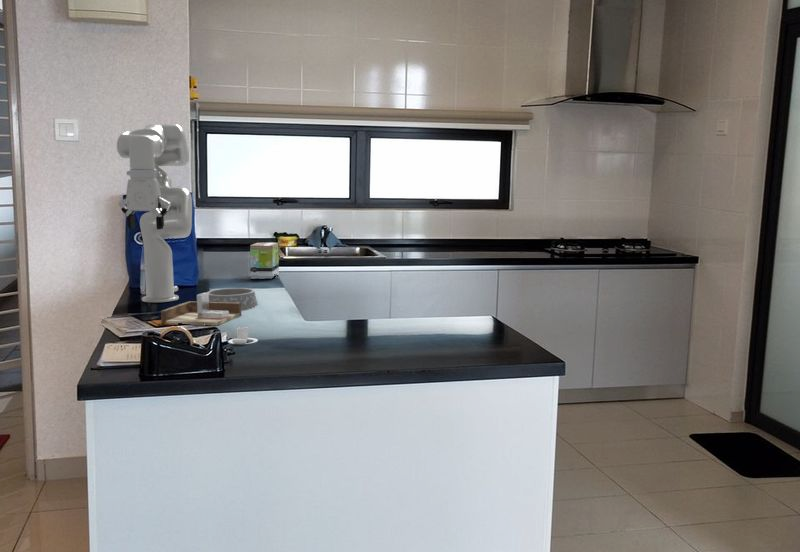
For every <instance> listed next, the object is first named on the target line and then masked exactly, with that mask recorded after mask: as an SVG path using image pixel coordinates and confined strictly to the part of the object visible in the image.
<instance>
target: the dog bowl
mask: <svg viewBox="0 0 800 552" xmlns="http://www.w3.org/2000/svg"><path fill="white" fill-rule="evenodd" d="M206 293H209V302H232V303H241V309H244V310H248V309H247V308H250V309H253V308H252V307H254V308H256V307H255V306H257V305H258V306H259V304H258V300H257V296H256V292H255V290H254V289H251V288H246V287H230V288H229V287H228V288H217V289H212V290H209V291H207V292H206ZM258 306H257V307H258Z"/></svg>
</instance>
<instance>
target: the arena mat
mask: <svg viewBox="0 0 800 552" xmlns="http://www.w3.org/2000/svg"><path fill="white" fill-rule="evenodd" d="M238 317H240V316H239V313H229V316H227V317H225V318H222V319H221V318H198V312H195V311H191V312H189V313H186V314H183V315H180V316H178V317H175V318H172V319H170V320H167V321H166V323H182V324H191V325H190V326H205V325H211V327H217V326H219V325H222V324H225V323H226V322H229V321H231V320H234V319H236V318H238ZM160 322H162V321H160ZM162 323H163V322H162ZM204 324H205V325H204Z"/></svg>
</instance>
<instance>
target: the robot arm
mask: <svg viewBox="0 0 800 552" xmlns="http://www.w3.org/2000/svg"><path fill="white" fill-rule="evenodd" d="M186 137H187V136H186V133H185V130H184V129H183V127H182V126H181V125H180V124H177V123H152V124H148V125H147V126H145V127H144V128H141V129H135V130H129V131H125V132H121V133H120V135H119V136H118V138H117V141H116V151H117V153H118V155H119V157H121V158H123V159H129V170H127V171H126V176H129V179H127V180H128V181H127V185H126V194H125V195H126V196H125V197H126V198H124V199H122V200H120V201H118V206H119V207H120V209H121V212H122V213H123V214H124V215H125V217H126V219H127V221H126V222H127V226H128V230H131V229H135V228H136V216H135V215H134V214H135V212H145V213H143V214H141V216H140V220H139V227H140V232H141V237H142V243H143V256H144V257H143V258H144V277H145V294H146V295H144V296H143V297H141V301H142V302H144V303H168V302H174V301H178V300H179V299H180V297H179V295H178V294H175V292H177V291H179V287H178V286H177V285H175V284H174V266H173V265H174V264H173V262H174V261H173V251H172V248H171V246H170V245H169V244H168V242H166V241H165V239H183V238H187V237H189V236H190V234H191V232H192V225H193V224H192V223H193V199H192V195H191V192H190V190H189V189H187V188H186V187H172V183H173V182H172V178H171V177H170V175H168V174H167V172H166V171H164V169H162V168H161V167H183V166H186V165H187V164H188V162H189V159H190V152H189V147H188V142H187V138H186Z"/></svg>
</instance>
